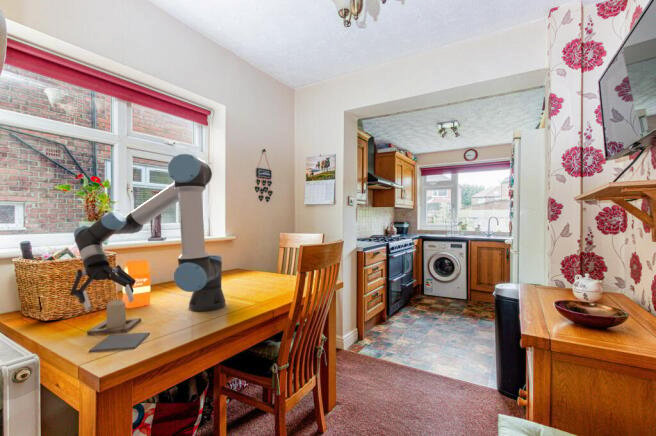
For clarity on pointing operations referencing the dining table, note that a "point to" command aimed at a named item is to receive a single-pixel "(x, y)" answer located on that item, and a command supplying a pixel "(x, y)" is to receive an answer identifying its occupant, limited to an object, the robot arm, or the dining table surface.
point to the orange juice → (138, 283)
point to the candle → (116, 314)
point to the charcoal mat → (120, 342)
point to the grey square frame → (127, 328)
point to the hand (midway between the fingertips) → (111, 304)
